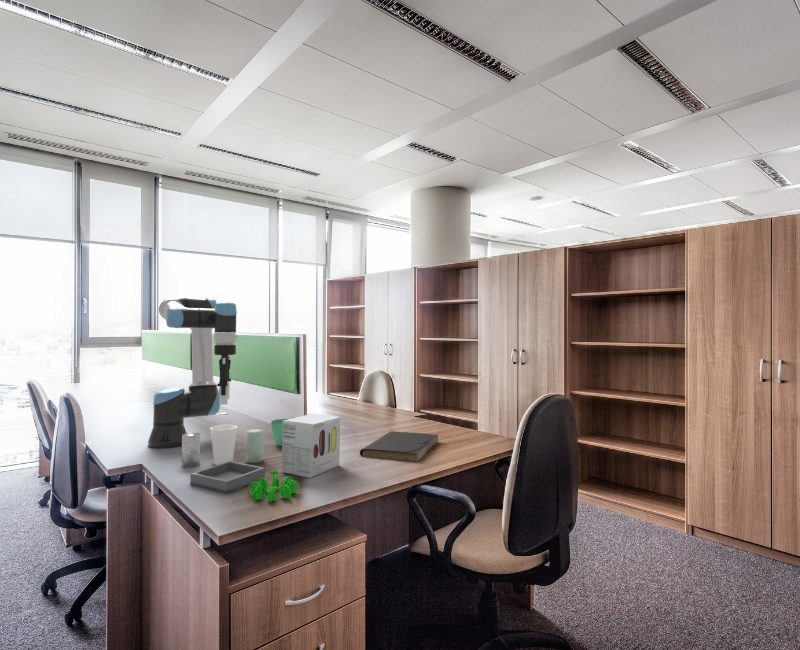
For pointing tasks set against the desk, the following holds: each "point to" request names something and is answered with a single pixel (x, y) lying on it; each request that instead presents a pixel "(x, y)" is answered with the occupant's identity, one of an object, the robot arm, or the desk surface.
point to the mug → (278, 430)
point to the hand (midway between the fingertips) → (224, 401)
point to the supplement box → (310, 444)
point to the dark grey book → (400, 446)
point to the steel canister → (190, 450)
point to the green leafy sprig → (273, 488)
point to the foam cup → (223, 442)
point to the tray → (227, 476)
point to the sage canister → (254, 446)
